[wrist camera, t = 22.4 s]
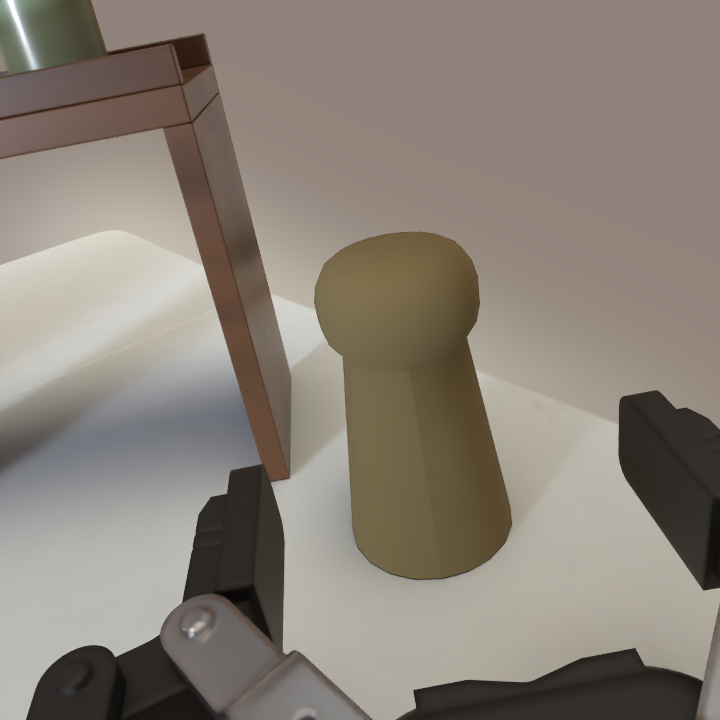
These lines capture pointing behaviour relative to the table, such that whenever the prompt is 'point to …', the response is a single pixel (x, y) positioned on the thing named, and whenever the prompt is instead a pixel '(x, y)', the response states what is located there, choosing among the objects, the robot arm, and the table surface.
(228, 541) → the robot arm
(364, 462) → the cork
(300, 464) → the table surface
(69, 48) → the spice rack
